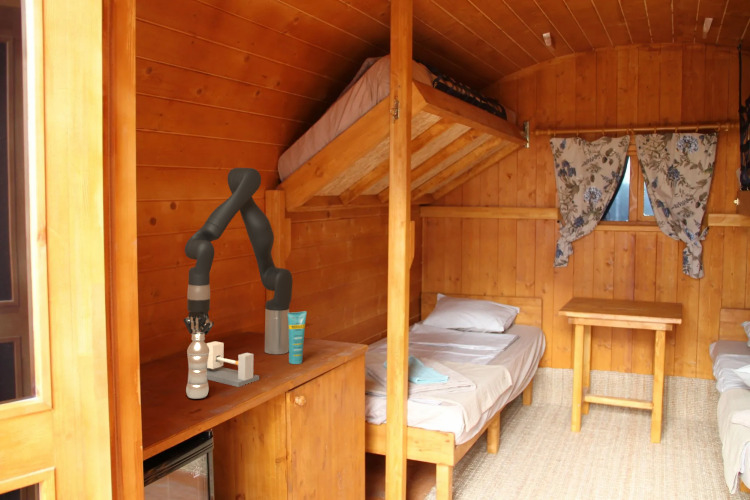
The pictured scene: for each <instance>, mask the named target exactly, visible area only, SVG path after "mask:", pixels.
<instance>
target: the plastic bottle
mask: <svg viewBox="0 0 750 500" xmlns="http://www.w3.org/2000/svg"><path fill="white" fill-rule="evenodd" d="M205 336H206V335H205V334H204V333H202V332H201V331H200V332H195V333H192V334H191V340H192V342H190V344H189V346H188V347H187V350H186V352H187V353H186V355H187V363H188V373H187V374H188V375H187V384H186V389H185V392H186V393H185V394H186V395H187V397H188V398H189V399H193V400H194V399H195V400H196V399H204V398H206V397H207V396H208V393H209V389H210V388H209V386H210V385H209V381H208V379H207V363H208V357H209V347H208V346H207V344H206V342H205V340H206V337H205Z"/></svg>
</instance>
